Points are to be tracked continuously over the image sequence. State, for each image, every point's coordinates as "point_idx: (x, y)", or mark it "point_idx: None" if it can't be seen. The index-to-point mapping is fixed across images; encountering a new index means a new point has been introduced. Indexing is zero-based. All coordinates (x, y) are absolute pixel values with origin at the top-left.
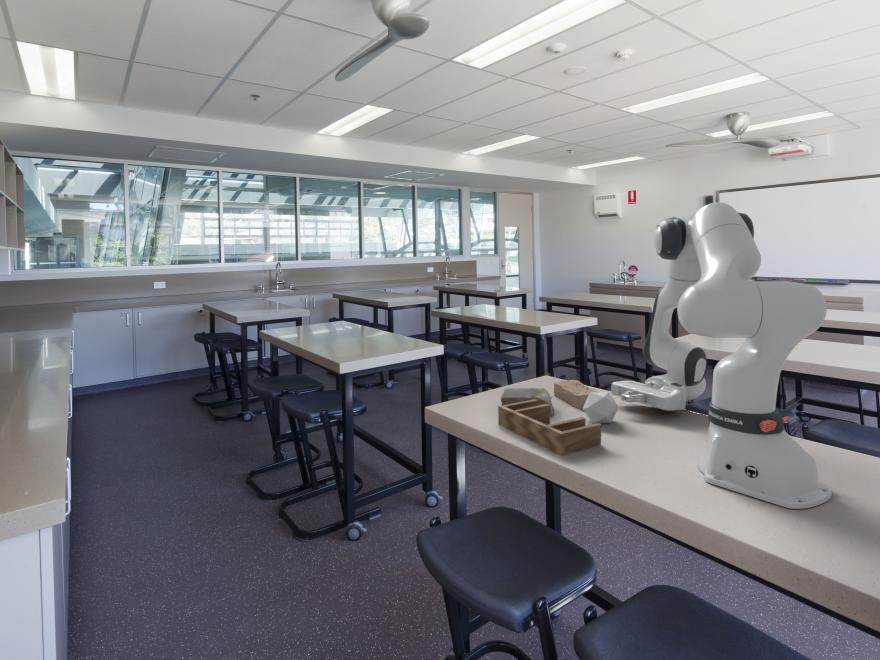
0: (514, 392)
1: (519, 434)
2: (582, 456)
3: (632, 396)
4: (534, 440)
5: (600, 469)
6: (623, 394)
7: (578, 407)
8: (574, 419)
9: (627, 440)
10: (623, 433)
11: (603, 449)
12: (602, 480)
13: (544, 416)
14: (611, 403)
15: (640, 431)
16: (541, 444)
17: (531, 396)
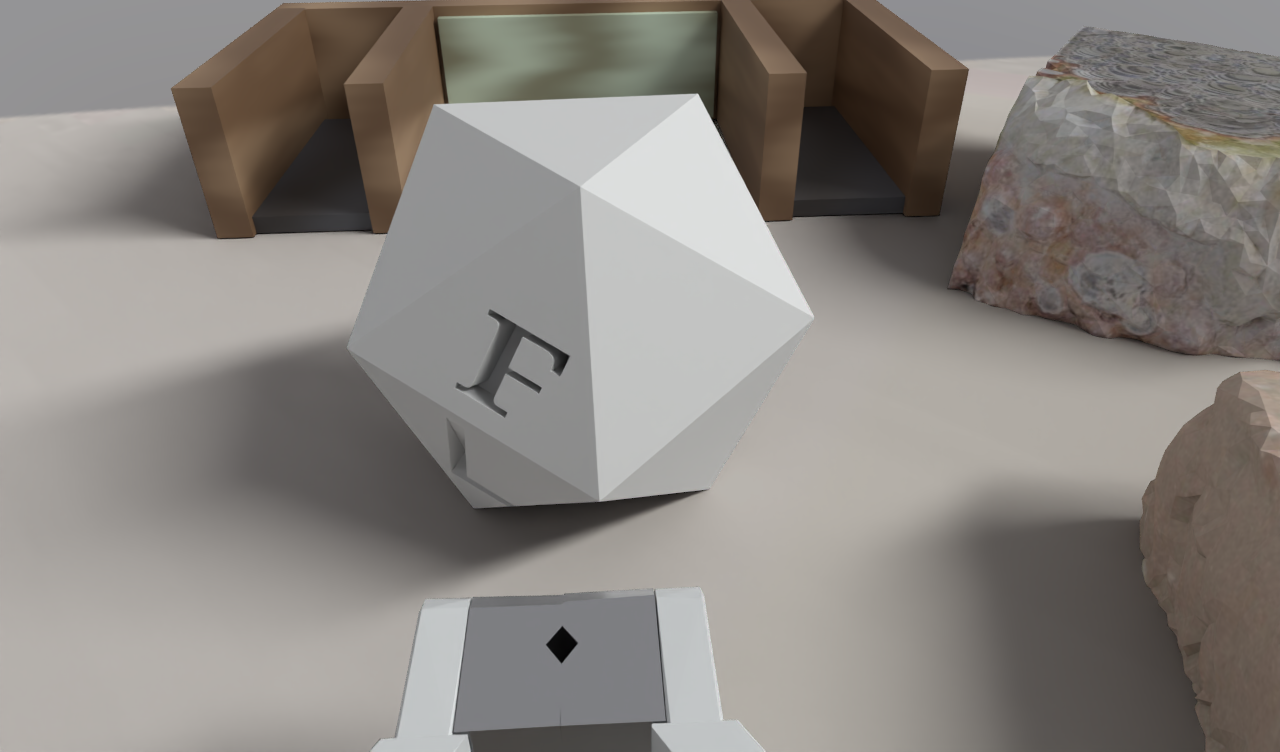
0: (1248, 69)
1: None
2: None
3: (406, 696)
4: None
5: (61, 143)
6: (658, 605)
7: (1146, 505)
8: (386, 58)
9: (75, 364)
10: (184, 424)
11: (164, 222)
12: (8, 119)
13: (752, 142)
14: (390, 234)
15: (32, 574)
16: None
17: (1070, 78)
